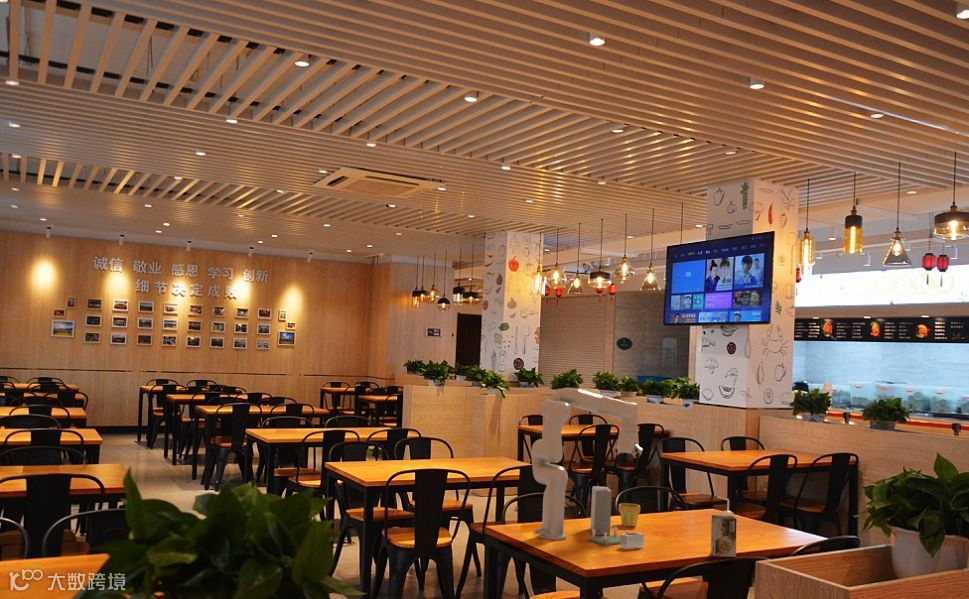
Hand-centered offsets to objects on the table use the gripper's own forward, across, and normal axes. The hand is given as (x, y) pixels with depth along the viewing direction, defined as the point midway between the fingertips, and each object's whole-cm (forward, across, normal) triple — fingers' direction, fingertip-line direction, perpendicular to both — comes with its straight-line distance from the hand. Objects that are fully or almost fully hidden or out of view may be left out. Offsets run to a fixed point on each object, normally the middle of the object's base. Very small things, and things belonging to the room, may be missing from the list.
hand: (627, 464), depth 404 cm
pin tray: (+31, +14, -24) cm, 42 cm away
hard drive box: (+31, -2, -14) cm, 34 cm away
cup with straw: (+31, +36, +28) cm, 55 cm away
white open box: (+31, +28, -24) cm, 48 cm away
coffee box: (+31, +54, +3) cm, 62 cm away
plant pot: (+31, -8, +11) cm, 34 cm away
